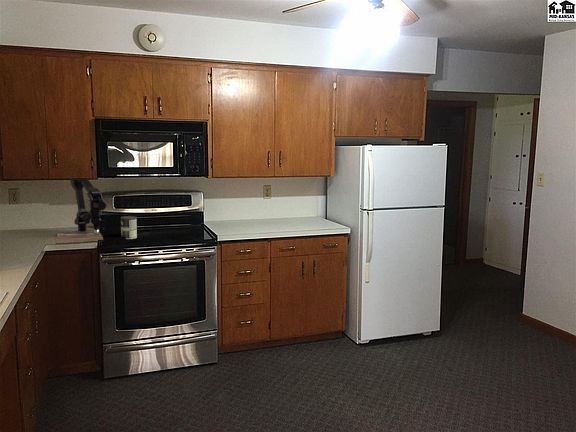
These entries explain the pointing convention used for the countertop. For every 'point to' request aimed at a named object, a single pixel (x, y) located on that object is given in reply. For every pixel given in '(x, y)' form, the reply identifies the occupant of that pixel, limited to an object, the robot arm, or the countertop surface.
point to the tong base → (65, 234)
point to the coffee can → (129, 227)
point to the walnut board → (79, 239)
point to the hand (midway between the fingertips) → (95, 231)
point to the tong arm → (96, 232)
